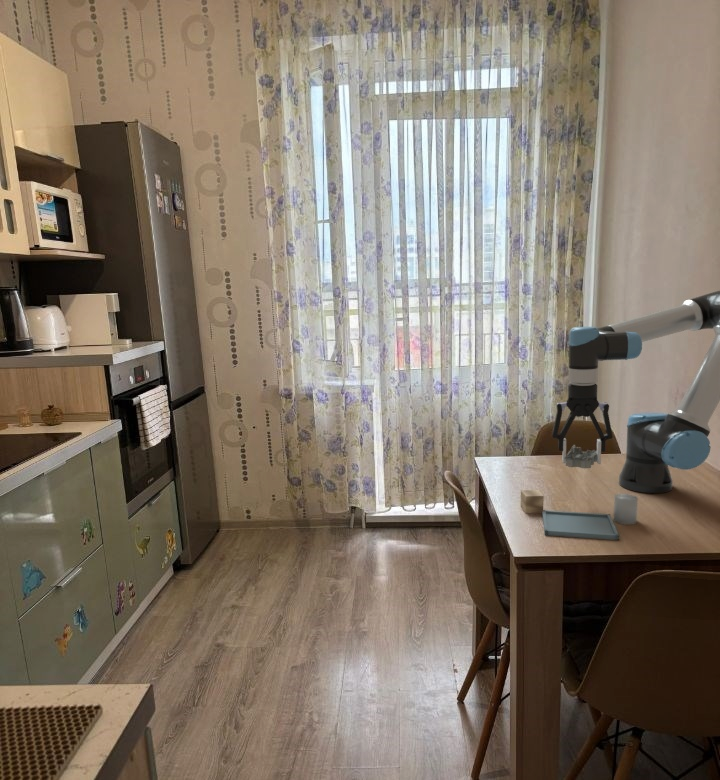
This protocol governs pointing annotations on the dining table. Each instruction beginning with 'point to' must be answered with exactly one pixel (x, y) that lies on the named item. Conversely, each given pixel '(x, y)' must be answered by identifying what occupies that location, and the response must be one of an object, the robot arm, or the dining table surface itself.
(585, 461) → the grey castle model
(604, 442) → the robot arm
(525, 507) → the oak block
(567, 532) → the tray
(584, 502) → the dining table surface
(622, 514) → the white cylinder
